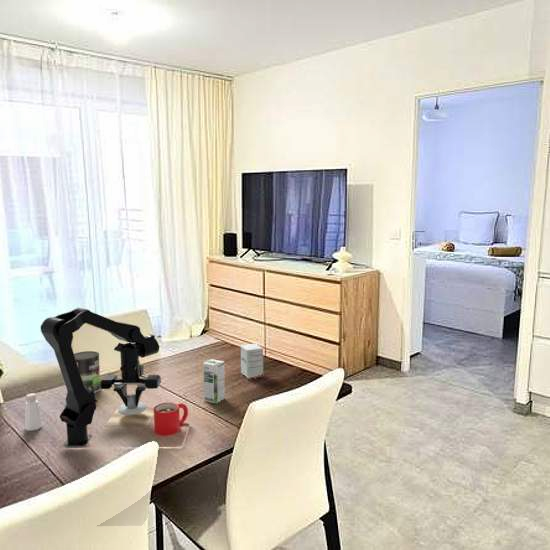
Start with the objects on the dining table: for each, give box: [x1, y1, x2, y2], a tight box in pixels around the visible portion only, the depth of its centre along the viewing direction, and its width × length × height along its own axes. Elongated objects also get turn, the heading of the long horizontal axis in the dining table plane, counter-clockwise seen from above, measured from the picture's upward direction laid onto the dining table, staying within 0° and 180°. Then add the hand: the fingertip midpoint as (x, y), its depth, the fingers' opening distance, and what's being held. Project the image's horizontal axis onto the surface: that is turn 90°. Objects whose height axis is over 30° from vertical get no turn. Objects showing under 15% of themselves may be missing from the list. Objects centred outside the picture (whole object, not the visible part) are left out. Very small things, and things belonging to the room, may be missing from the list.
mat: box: [104, 406, 155, 427], centre depth 161 cm, size 14×14×1 cm
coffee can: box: [74, 350, 102, 394], centre depth 183 cm, size 10×10×14 cm
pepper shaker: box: [24, 392, 43, 432], centre depth 154 cm, size 5×5×11 cm
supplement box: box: [240, 343, 264, 378], centre depth 198 cm, size 7×7×13 cm
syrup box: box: [202, 358, 226, 405], centre depth 174 cm, size 6×6×14 cm
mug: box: [153, 402, 189, 437], centre depth 153 cm, size 8×12×8 cm, turn 140°
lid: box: [117, 393, 147, 415], centre depth 161 cm, size 9×9×5 cm
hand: (132, 406), depth 161 cm, fingers closed on lid, 3 cm apart
